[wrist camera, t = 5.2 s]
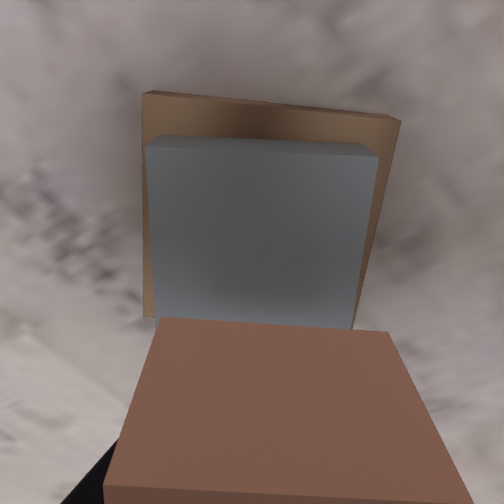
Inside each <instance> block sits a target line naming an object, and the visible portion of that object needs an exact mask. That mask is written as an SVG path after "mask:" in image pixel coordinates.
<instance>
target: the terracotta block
mask: <svg viewBox="0 0 504 504" xmlns="http://www.w3.org/2000/svg"><path fill="white" fill-rule="evenodd" d="M103 494H104V504H474V502H473V500H472V498H471V496H470V494H469V492H468V490H467V488H466V486H465V484H464V482H463V480H462V478H461V477H460V475H459V473H458V471H457V469H456V467H455V465H454V463H453V461H452V459H451V457H450V455H449V453H448V451H447V449H446V447H445V445H444V443H443V441H442V439H441V437H440V435H439V433H438V431H437V429H436V427H435V425H434V423H433V421H432V419H431V417H430V415H429V413H428V411H427V409H426V407H425V405H424V403H423V401H422V399H421V397H420V395H419V393H418V391H417V389H416V387H415V385H414V383H413V381H412V379H411V377H410V375H409V373H408V371H407V369H406V367H405V365H404V363H403V361H402V359H401V357H400V355H399V353H398V351H397V349H396V347H395V345H394V343H393V341H392V339H391V337H390V336H389V334H388V332H379V331H364V330H350V329H335V328H321V327H307V326H292V325H278V324H263V323H249V322H234V321H220V320H206V319H191V318H177V317H162V316H161V317H160V320H159V323H158V326H157V329H156V332H155V335H154V338H153V341H152V344H151V346H150V349H149V352H148V355H147V358H146V361H145V364H144V367H143V370H142V373H141V375H140V378H139V381H138V384H137V387H136V390H135V393H134V396H133V399H132V402H131V404H130V407H129V410H128V413H127V416H126V419H125V422H124V425H123V428H122V431H121V433H120V436H119V439H118V442H117V445H116V448H115V451H114V454H113V457H112V460H111V462H110V465H109V468H108V471H107V474H106V477H105V480H104V483H103Z"/></svg>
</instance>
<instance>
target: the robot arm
mask: <svg viewBox="0 0 504 504" xmlns="http://www.w3.org/2000/svg"><path fill="white" fill-rule="evenodd" d="M118 439H119V438H118ZM118 439H117V441H116V442H115V443H114V444H113V445H112V446H111V447H110V448H109V450H108V451H107V452H106V453H105V454H104V455H103V456H102V457H101V459H100V460H99V461H98V462H97V463H96V464H95V465H94V466H93V468H92V469H91V470H90V471H89V472H88V473H87V474H86V475H85V477H84V478H83V479H82V480H81V481H80V482H79V483H78V484H77V486H76V487H75V488H74V489H73V490H72V491H71V492H70V493H69V495H68V496H67V497H66V498H65V499H64V500H63V501H62V502H61V503H60V504H104V494H103V483H104V480H105V477H106V474H107V471H108V468H109V465H110V462H111V460H112V457H113V454H114V451H115V448H116V445H117V442H118Z"/></svg>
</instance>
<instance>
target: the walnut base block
mask: <svg viewBox="0 0 504 504" xmlns="http://www.w3.org/2000/svg"><path fill="white" fill-rule="evenodd" d="M400 125H401V121H400V120H398V119H395V118H393V117H390V116H388V115H379V114H370V113H361V112H351V111H342V110H332V109H323V108H313V107H304V106H295V105H285V104H276V103H266V102H257V101H247V100H238V99H229V98H219V97H210V96H200V95H191V94H181V93H172V92H163V91H153V90H152V91H149V92H146V93H143V94H142V174H143V317H153V318H155V306H154V289H153V273H152V256H151V239H150V222H149V205H148V189H147V172H146V155H145V146H146V145H147V144H149V143H150V142H151V141H152V140H154V139H155V138H156V137H157V136H159V135H178V136H200V137H222V138H245V139H267V140H290V141H312V142H334V143H357V144H363V145H364V146H366V147H367V148H368V149H370V150H371V151H372V152H374V153H375V154H376V155H377V156H379V161H378V167H377V173H376V179H375V185H374V191H373V197H372V203H371V209H370V215H369V221H368V227H367V233H366V239H365V246H364V252H363V258H362V264H361V270H360V276H359V282H358V288H357V294H356V300H355V306H354V312H353V318H352V324H351V330H352V328H353V324H354V320H355V315H356V311H357V307H358V303H359V298H360V294H361V290H362V286H363V281H364V277H365V273H366V269H367V264H368V260H369V256H370V252H371V248H372V243H373V239H374V235H375V231H376V226H377V222H378V218H379V214H380V209H381V205H382V201H383V197H384V192H385V188H386V184H387V180H388V175H389V171H390V167H391V163H392V159H393V154H394V150H395V146H396V142H397V137H398V133H399V129H400Z"/></svg>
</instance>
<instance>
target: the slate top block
mask: <svg viewBox="0 0 504 504" xmlns="http://www.w3.org/2000/svg"><path fill="white" fill-rule="evenodd" d="M145 155H146V172H147V189H148V205H149V222H150V239H151V256H152V273H153V289H154V306H155V323H156V329H157V326H158V323H159V320H160V317H161V316H162V317H177V318H191V319H206V320H220V321H234V322H249V323H263V324H278V325H292V326H307V327H321V328H335V329H350V330H351V324H352V318H353V312H354V306H355V300H356V294H357V288H358V282H359V276H360V270H361V264H362V258H363V252H364V246H365V239H366V233H367V227H368V221H369V215H370V209H371V203H372V197H373V191H374V185H375V179H376V173H377V167H378V161H379V156H377V155H376V154H375V153H374V152H372V151H371V150H370V149H368V148H367V147H366V146H364V145H363V144H357V143H334V142H312V141H290V140H267V139H245V138H222V137H200V136H178V135H159V136H157V137H156V138H155V139H154V140H152V141H151V142H150V143H149V144H147V145H146V146H145Z"/></svg>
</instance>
